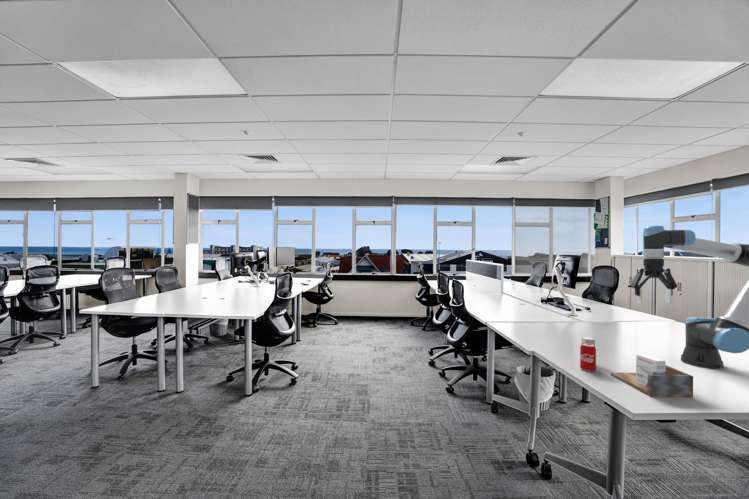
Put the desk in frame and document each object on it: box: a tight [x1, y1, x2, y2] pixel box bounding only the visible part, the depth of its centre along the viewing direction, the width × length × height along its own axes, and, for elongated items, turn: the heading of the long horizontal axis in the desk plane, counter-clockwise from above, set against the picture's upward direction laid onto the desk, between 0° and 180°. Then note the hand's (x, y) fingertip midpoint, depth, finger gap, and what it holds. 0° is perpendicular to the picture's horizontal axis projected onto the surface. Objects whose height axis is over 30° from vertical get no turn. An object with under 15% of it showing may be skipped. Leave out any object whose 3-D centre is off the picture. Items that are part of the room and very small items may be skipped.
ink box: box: [635, 354, 667, 387], centre depth 133 cm, size 8×5×12 cm, turn 11°
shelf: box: [610, 365, 694, 399], centre depth 137 cm, size 16×22×8 cm
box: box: [581, 336, 596, 346], centre depth 162 cm, size 5×4×13 cm
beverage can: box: [579, 342, 597, 373], centre depth 154 cm, size 6×6×12 cm
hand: (653, 302), depth 157 cm, fingers open, 13 cm apart
